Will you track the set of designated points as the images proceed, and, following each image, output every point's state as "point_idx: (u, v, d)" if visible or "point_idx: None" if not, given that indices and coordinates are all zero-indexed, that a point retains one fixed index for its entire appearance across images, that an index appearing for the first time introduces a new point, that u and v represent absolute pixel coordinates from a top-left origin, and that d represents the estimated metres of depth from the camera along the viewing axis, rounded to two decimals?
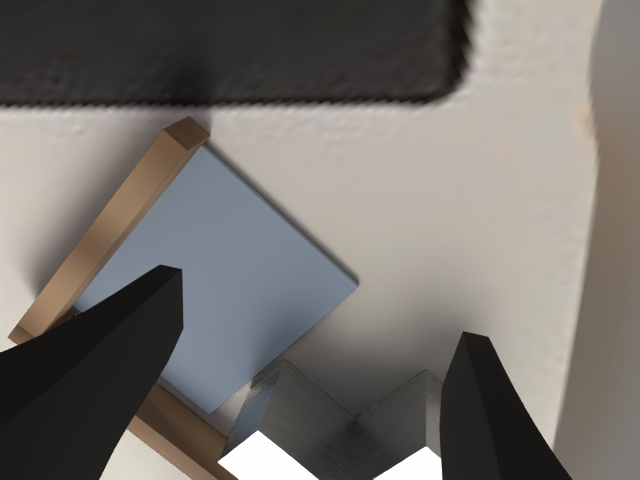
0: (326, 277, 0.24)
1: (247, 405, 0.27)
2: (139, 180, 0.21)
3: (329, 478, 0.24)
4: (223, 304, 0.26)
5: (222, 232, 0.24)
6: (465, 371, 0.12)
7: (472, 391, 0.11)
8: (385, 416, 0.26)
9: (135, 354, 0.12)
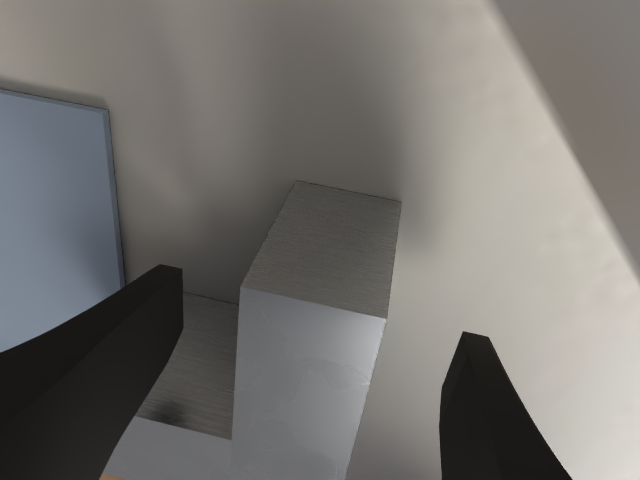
0: (60, 129, 0.15)
1: None
2: None
3: (204, 417, 0.14)
4: (14, 252, 0.18)
5: None
6: (465, 371, 0.12)
7: (472, 391, 0.11)
8: None
9: (135, 353, 0.12)
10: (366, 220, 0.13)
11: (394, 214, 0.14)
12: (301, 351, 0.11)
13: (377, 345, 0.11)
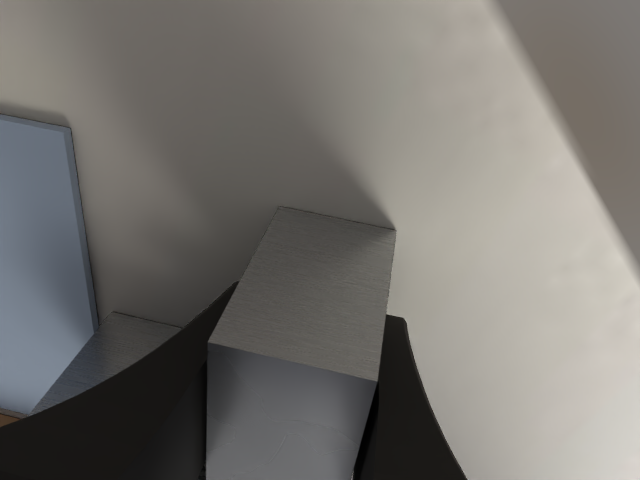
0: (18, 149, 0.14)
1: None
2: None
3: None
4: None
5: None
6: None
7: None
8: None
9: None
10: (356, 254, 0.12)
11: (388, 246, 0.12)
12: (280, 412, 0.10)
13: (366, 408, 0.09)
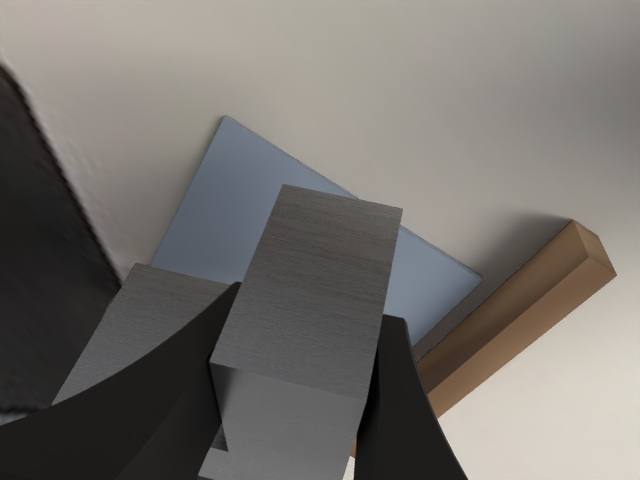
0: (225, 156, 0.21)
1: None
2: None
3: None
4: None
5: (217, 262, 0.23)
6: None
7: (376, 369, 0.11)
8: None
9: None
10: (358, 243, 0.12)
11: (392, 231, 0.12)
12: (282, 410, 0.11)
13: (359, 416, 0.10)
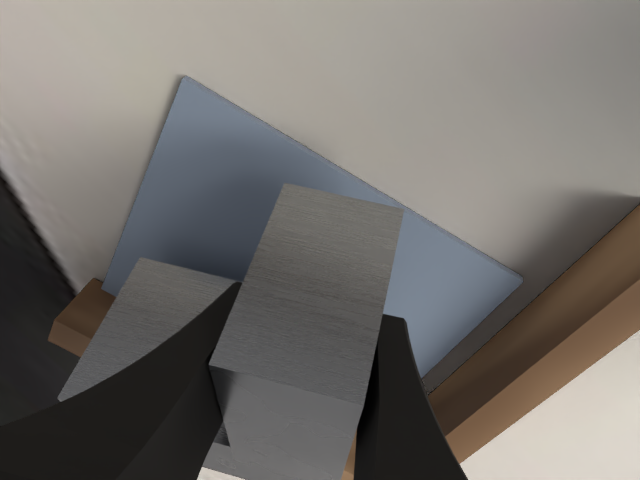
0: (188, 129, 0.16)
1: None
2: None
3: None
4: None
5: (188, 266, 0.19)
6: None
7: (376, 369, 0.11)
8: None
9: None
10: (359, 244, 0.12)
11: (393, 232, 0.12)
12: (281, 411, 0.11)
13: (357, 418, 0.10)
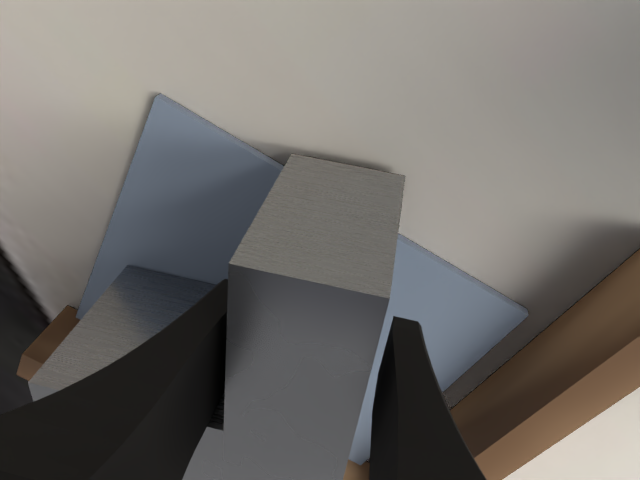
0: (163, 151, 0.15)
1: None
2: None
3: None
4: None
5: None
6: (390, 354, 0.12)
7: (392, 372, 0.11)
8: None
9: (209, 371, 0.11)
10: (367, 194, 0.12)
11: (397, 188, 0.13)
12: (296, 335, 0.10)
13: (379, 327, 0.10)
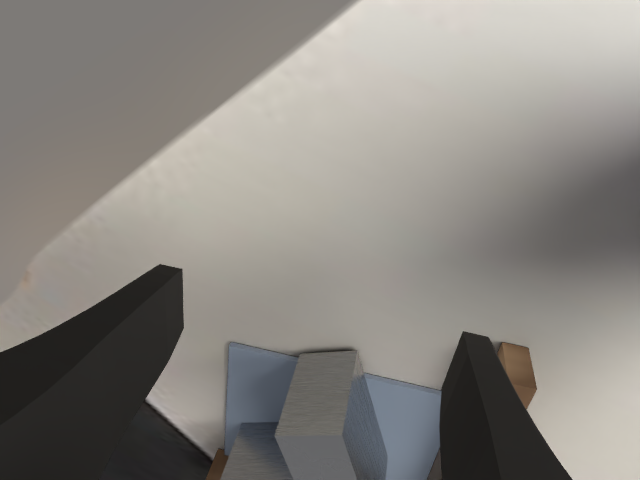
0: (241, 366, 0.28)
1: None
2: None
3: None
4: None
5: None
6: (465, 371, 0.12)
7: (472, 391, 0.11)
8: None
9: (135, 353, 0.12)
10: (336, 371, 0.25)
11: (352, 362, 0.25)
12: (314, 457, 0.23)
13: (344, 446, 0.22)
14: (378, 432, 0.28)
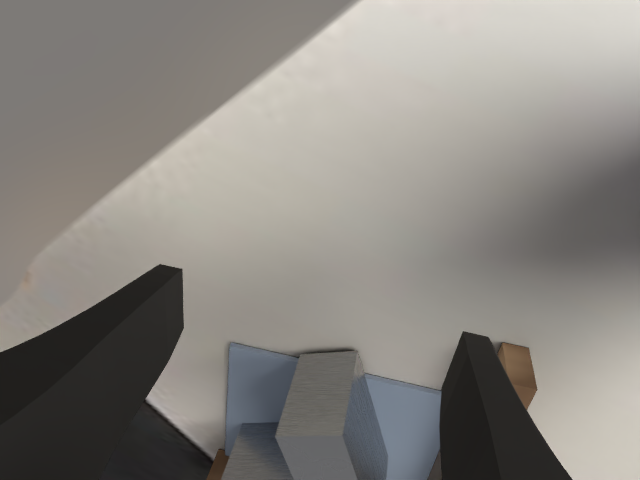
0: (241, 367, 0.28)
1: None
2: None
3: None
4: None
5: None
6: (465, 371, 0.12)
7: (472, 391, 0.11)
8: None
9: (135, 354, 0.12)
10: (336, 372, 0.25)
11: (352, 362, 0.25)
12: (314, 457, 0.23)
13: (345, 447, 0.22)
14: (378, 432, 0.28)
